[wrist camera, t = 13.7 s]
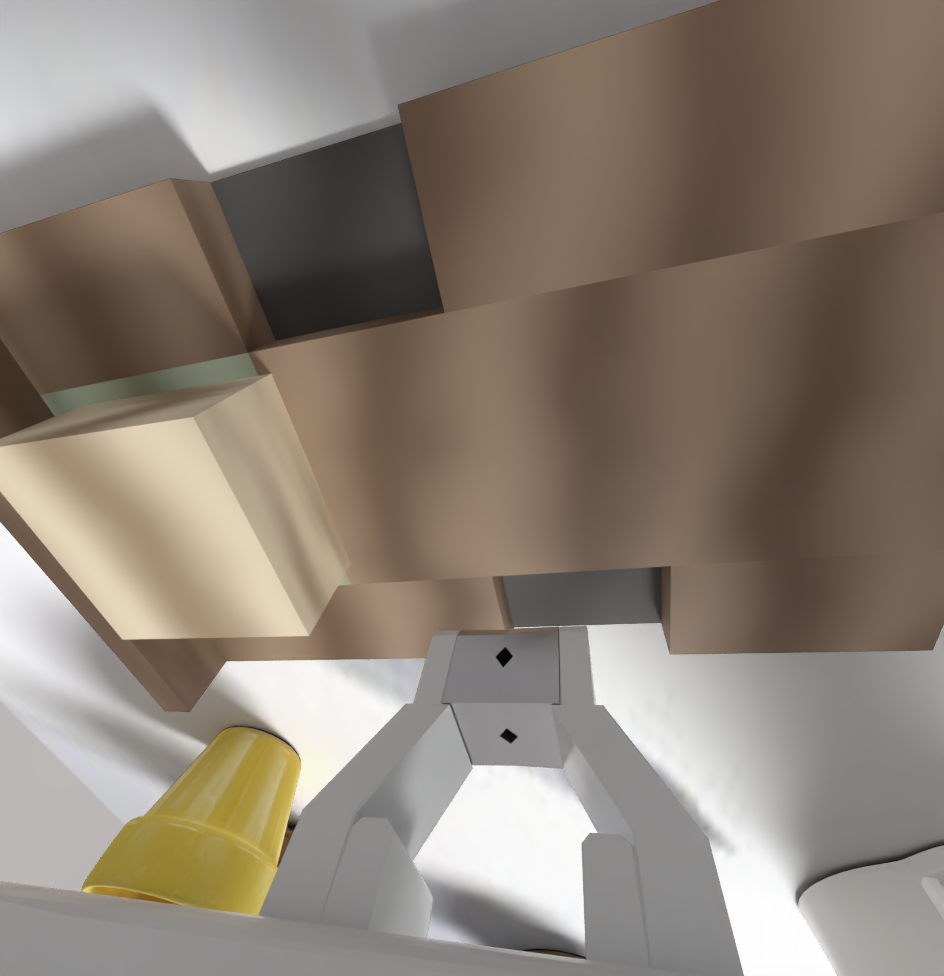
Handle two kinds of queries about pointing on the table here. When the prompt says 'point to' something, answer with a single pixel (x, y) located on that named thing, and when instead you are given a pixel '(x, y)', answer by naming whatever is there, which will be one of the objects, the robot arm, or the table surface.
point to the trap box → (562, 341)
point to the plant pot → (209, 830)
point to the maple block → (182, 511)
